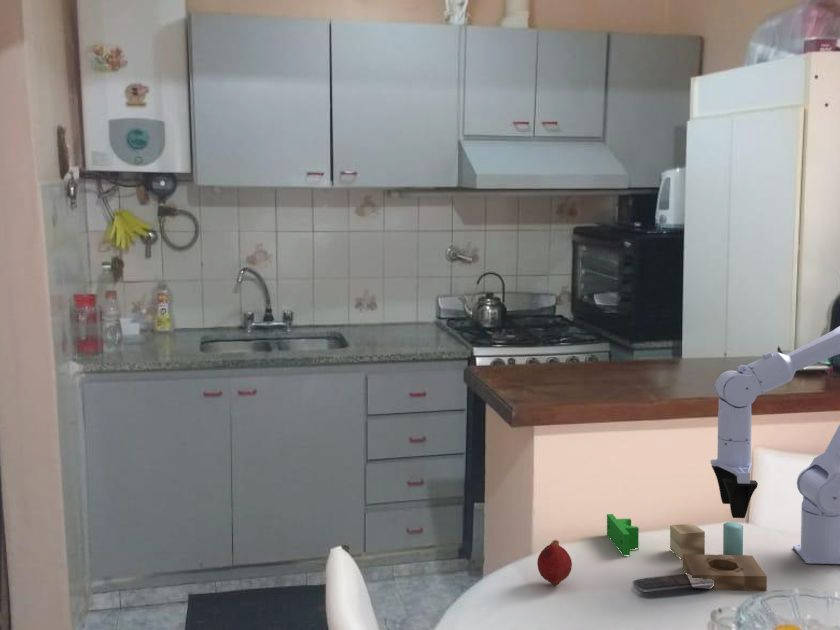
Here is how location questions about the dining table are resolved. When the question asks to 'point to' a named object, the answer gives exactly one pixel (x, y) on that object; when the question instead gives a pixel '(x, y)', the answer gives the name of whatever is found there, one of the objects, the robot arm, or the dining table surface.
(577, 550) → the dining table surface
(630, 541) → the green pronged block
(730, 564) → the socket block
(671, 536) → the wooden cube block
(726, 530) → the teal dowel
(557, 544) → the onion
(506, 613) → the dining table surface
